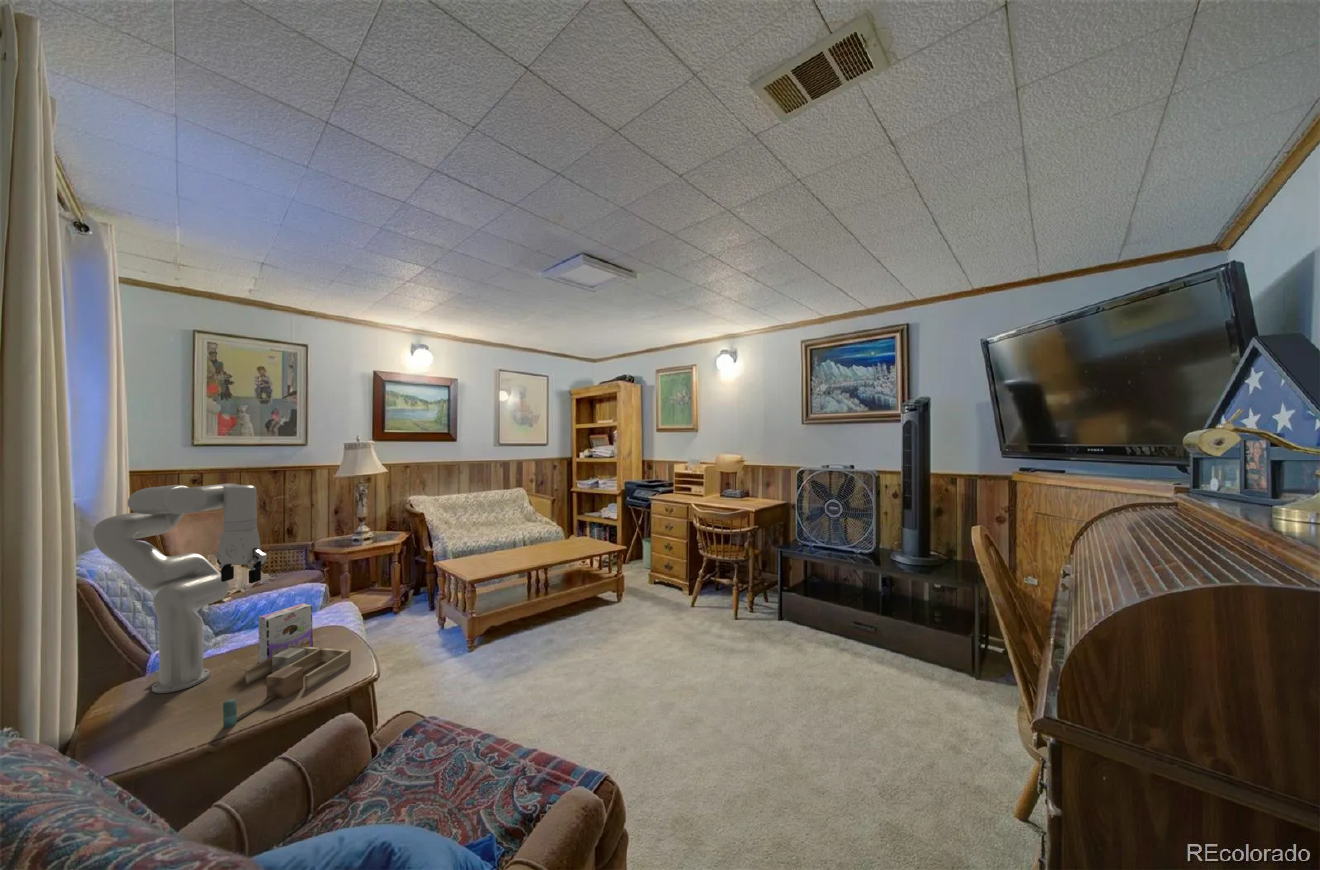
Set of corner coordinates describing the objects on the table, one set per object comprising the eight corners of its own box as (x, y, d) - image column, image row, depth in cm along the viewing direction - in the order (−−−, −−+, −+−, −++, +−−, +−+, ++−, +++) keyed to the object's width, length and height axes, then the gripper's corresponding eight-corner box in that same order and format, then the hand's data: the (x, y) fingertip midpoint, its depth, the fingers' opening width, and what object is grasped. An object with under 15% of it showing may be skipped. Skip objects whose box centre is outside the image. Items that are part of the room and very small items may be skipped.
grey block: (272, 674, 147) (272, 656, 147) (289, 665, 153) (289, 647, 153) (288, 676, 146) (288, 657, 146) (305, 666, 152) (305, 648, 152)
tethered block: (215, 729, 121) (214, 703, 121) (286, 687, 140) (285, 664, 140) (234, 731, 120) (234, 705, 120) (303, 688, 139) (303, 666, 139)
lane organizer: (245, 686, 141) (245, 670, 141) (293, 660, 157) (293, 645, 157) (308, 692, 138) (307, 675, 138) (350, 665, 154) (350, 650, 154)
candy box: (304, 646, 167) (304, 601, 167) (313, 649, 165) (313, 604, 164) (258, 663, 155) (257, 615, 154) (267, 667, 152) (266, 618, 152)
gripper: (202, 527, 137) (203, 583, 137) (252, 529, 134) (253, 586, 135) (229, 522, 144) (230, 575, 144) (277, 524, 142) (277, 578, 142)
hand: (241, 581), depth 140 cm, fingers open, 9 cm apart
